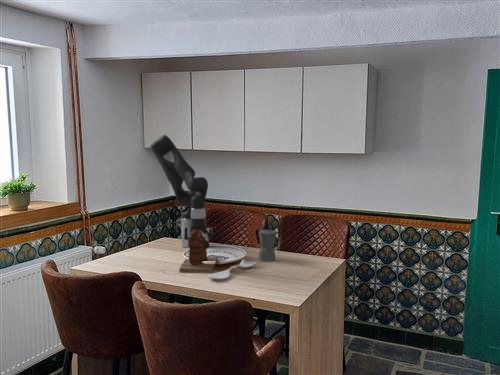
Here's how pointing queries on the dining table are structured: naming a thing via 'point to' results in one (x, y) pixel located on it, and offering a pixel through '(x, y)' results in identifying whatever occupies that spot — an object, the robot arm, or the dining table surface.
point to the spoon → (226, 273)
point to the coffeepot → (266, 244)
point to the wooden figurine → (197, 247)
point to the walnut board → (198, 266)
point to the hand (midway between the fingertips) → (198, 247)
